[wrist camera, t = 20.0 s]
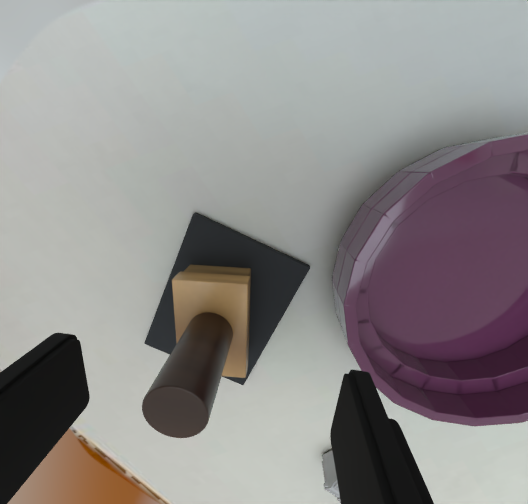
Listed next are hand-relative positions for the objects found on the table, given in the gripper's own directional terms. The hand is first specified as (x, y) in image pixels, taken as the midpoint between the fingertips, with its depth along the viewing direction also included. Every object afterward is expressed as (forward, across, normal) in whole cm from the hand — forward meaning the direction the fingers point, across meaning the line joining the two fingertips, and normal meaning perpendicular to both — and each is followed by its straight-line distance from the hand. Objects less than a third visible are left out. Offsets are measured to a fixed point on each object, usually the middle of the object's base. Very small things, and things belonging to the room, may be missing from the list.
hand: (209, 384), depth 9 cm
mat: (+11, +2, +3) cm, 11 cm away
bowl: (+11, -15, -1) cm, 18 cm away
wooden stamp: (+10, +2, +3) cm, 11 cm away
